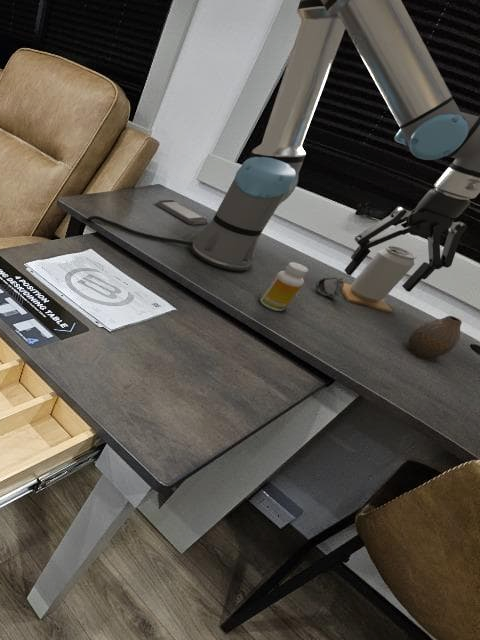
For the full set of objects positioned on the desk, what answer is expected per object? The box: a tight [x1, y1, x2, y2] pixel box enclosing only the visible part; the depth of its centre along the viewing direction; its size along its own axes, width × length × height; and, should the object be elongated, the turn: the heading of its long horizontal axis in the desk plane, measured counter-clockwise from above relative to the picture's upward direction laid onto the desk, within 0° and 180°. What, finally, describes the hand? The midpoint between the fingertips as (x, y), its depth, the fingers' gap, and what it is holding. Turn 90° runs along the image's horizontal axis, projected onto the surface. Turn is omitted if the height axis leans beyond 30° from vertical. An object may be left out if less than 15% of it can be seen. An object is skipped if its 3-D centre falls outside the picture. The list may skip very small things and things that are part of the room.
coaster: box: [341, 282, 393, 313], centre depth 114 cm, size 10×10×1 cm
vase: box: [407, 315, 463, 359], centre depth 94 cm, size 7×7×9 cm
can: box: [350, 245, 417, 301], centre depth 110 cm, size 8×8×12 cm
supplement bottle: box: [259, 261, 309, 312], centre depth 100 cm, size 5×5×10 cm
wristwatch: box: [315, 276, 345, 298], centre depth 110 cm, size 3×5×5 cm
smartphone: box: [156, 199, 209, 226], centre depth 139 cm, size 7×1×15 cm
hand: (376, 281), depth 111 cm, fingers open, 13 cm apart
